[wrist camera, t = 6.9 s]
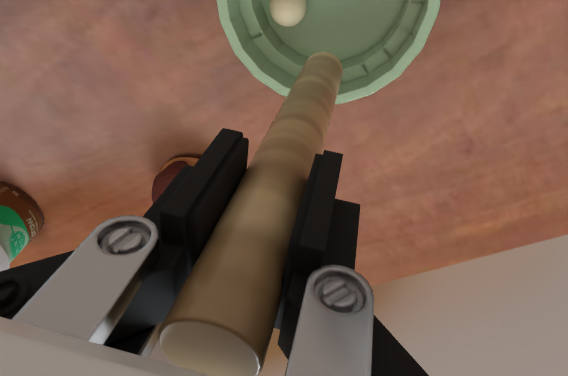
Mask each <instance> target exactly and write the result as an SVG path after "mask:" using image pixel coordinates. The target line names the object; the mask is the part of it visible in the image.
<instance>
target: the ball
mask: <svg viewBox="0 0 568 376" xmlns="http://www.w3.org/2000/svg"><path fill="white" fill-rule="evenodd" d="M306 9H307V3H306V0H270V13H271V15H272V17H273V19H274V20H275V21H276V22H277V23H278V24H280V25H282V26H286V27H290V26H294V25H296V24H298V23H299V22H300V21H301V20H302V19H303V18H304V16H305V13H306Z"/></svg>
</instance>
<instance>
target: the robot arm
mask: <svg viewBox="0 0 568 376" xmlns="http://www.w3.org/2000/svg"><path fill="white" fill-rule="evenodd" d="M248 145H249V140H248V138H243V133H242V132H239V131H234V130H230V129H225V128H223V129H222V130H221V131H220V132H219V134H218V135H217V136H216V138H215V139H214V140H213V142H212V143H211V144H210V145H209V147H208V148H207V149H206V151H205V152H204V153H203V155H202V156H201V157H200V158H199V160H198V161H197V162H196V164H195V165H194V166H190V165H185V166H184V167H183V168H182V169H181V170H180V171H179V173H178V174H177V175H176V176H175V178H174V179H173V180H172V181H171V183H170V184H169V185H168V186H167V187H166V189H165V190H164V191H163V192H162V194H161V195H160V196H159V197H158V199H157V200H156V201H155V202H154V204H153V205H152V206H151V207H150V209H149V210H148V211H147V212H146V214H145V215H144V216H143V217H141V216H135V215H125V216H118V217H115V218H111V219H109V220H107V221H105V222H103V223H101V224H100V225H99V226H98V227H96V228H95V229H94V230H93V231H92V232H91V233H90V235H89V236H88V237H87V238H86V239H85V240H84V241H83V242H82V243H81V244H80V245H79V247H78V248H77V249H76V250H73V251H70V252H66V253H63V254H59V255H56V256H52V257H49V258H46V259H42V260H39V261H35V262H32V263H28V264H25V265H21V266H18V267H14V268H11V269H7V270H4V271H0V376H210V375H206V374H203V373H199V372H196V371H192V370H189V369H185V368H182V367H178V366H175V365H171V364H168V363H164V362H160V361H157V360H153V359H150V358H149V356H150V354H151V352H152V350H153V348H154V346H155V344H156V343H157V341H158V333H159V329H160V327H161V325H162V323H163V321H164V319H165V317H166V316H167V314H168V312H169V310H170V308H171V306H172V305H173V303H174V301H175V299H176V297H177V296H178V294H179V292H180V290H181V288H182V286H183V285H184V283H185V281H186V279H187V277H188V276H189V274H190V272H191V270H192V268H193V266H194V265H195V263H196V261H197V259H198V257H199V255H200V254H201V252H202V250H203V248H204V246H205V245H206V243H207V241H208V239H209V237H210V235H211V234H212V232H213V230H214V228H215V226H216V225H217V223H218V221H219V219H220V217H221V215H222V214H223V212H224V210H225V208H226V206H227V204H228V203H229V201H230V199H231V197H232V195H233V194H234V192H235V190H236V188H237V186H238V184H239V183H240V181H241V179H242V177H243V175H244V173H245V172H246V170H247V157H248ZM342 157H343V154H340V153H336V152H331V151H326V150H324V153H323V155H321V154H315V157H314V161H313V164H312V167H311V171H310V174H309V177H308V181H307V184H306V187H305V191H304V194H303V197H302V201H301V204H300V207H299V211H298V214H297V217H296V221H295V224H294V227H293V231H292V234H291V238H290V242H289V246H288V251H287V256H286V261H285V267H284V272H283V278H282V284H283V295H282V299H281V303H280V306H279V310H278V313H277V317H276V321H275V324H274V328H276V329H280V335H279V339H278V345H279V347H280V348H281V350H282V351H283V353H284V354H285V356H286V357H287V359H288V363H287V368H286V372H285V376H429V375H428V374H427V373H426V372H425V371H424V370H423V369H422V367H421V366H420V365H419V364H418V363H417V362H416V361H415V360H414V359H413V357H412V356H411V355H410V354H409V353H408V352H407V351H406V350H405V349H404V348H403V347H402V345H401V344H400V343H399V342H398V341H397V340H396V339H395V338H394V337H393V335H392V334H391V333H390V332H389V331H388V330H387V329H386V328H385V326H383V324H382V323H381V322H380V321H379V320H378V319H377V318H376V317H375V316H374V314H373V313H374V295H373V290H372V288H371V286H370V284H369V282H368V281H367V280H366V279H365V278H364V277H363V276H362V275H361V274H359V273H358V272H356V271H354V269H355V258H356V247H357V236H358V225H359V214H360V204H356V203H352V202H347V201H343V200H339V199H335V195H336V189H337V184H338V179H339V173H340V168H341V162H342Z"/></svg>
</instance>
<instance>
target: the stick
mask: <svg viewBox="0 0 568 376" xmlns="http://www.w3.org/2000/svg"><path fill="white" fill-rule="evenodd" d="M342 75H343V68H342V64H341V62H340V61H339V59H338V58H337V57H336V56H335V55H333V54H331V53H328V52H317V53H315V54H313V55H311V56H310V57H309V58H308V59H307V61H306V62H305V64H304V66H303V68H302V70H301V71H300V73H299V75H298V77H297V79H296V81H295V82H294V84H293V86H292V88H291V90H290V91H289V93H288V95H287V97H286V99H285V101H284V102H283V104H282V106H281V108H280V110H279V112H278V113H277V115H276V117H275V119H274V121H273V122H272V124H271V126H270V128H269V130H268V132H267V133H266V135H265V137H264V139H263V141H262V143H261V144H260V146H259V148H258V150H257V152H256V153H255V155H254V157H253V159H252V161H251V163H250V164H249V166H248V168H247V170H246V172H245V173H244V175H243V177H242V179H241V181H240V183H239V184H238V186H237V188H236V190H235V192H234V194H233V195H232V197H231V199H230V201H229V203H228V204H227V206H226V208H225V210H224V212H223V214H222V215H221V217H220V219H219V221H218V223H217V225H216V226H215V228H214V230H213V232H212V234H211V235H210V237H209V239H208V241H207V243H206V245H205V246H204V248H203V250H202V252H201V254H200V255H199V257H198V259H197V261H196V263H195V265H194V266H193V268H192V270H191V272H190V274H189V276H188V277H187V279H186V281H185V283H184V285H183V286H182V288H181V290H180V292H179V294H178V296H177V297H176V299H175V301H174V303H173V305H172V306H171V308H170V310H169V312H168V314H167V316H166V317H165V319H164V321H163V323H162V325H161V327H160V329H159V333H158V341H159V345H160V347H161V349H162V351H163V352H164V354H165V355H166V356H167V357H168V359H169V360H170V361H171V362H173V363H174V364H175V365H176V366H178V367H182V368H185V369H189V370H192V371H196V372H199V373H203V374H206V375H210V376H258V375H259V373H260V372H261V370H262V368H263V364H264V361H265V357H266V354H267V350H268V346H269V342H270V339H271V335H272V332H273V328H274V324H275V321H276V317H277V313H278V310H279V306H280V303H281V299H282V295H283V284H282V278H283V272H284V267H285V261H286V256H287V251H288V246H289V242H290V238H291V234H292V231H293V227H294V224H295V221H296V217H297V214H298V211H299V207H300V204H301V201H302V197H303V194H304V191H305V187H306V184H307V181H308V177H309V174H310V171H311V167H312V164H313V161H314V157H315V154H321V152H322V149H323V145H324V141H325V138H326V134H327V130H328V127H329V123H330V120H331V116H332V112H333V109H334V105H335V101H336V98H337V94H338V90H339V87H340V83H341V79H342Z"/></svg>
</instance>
